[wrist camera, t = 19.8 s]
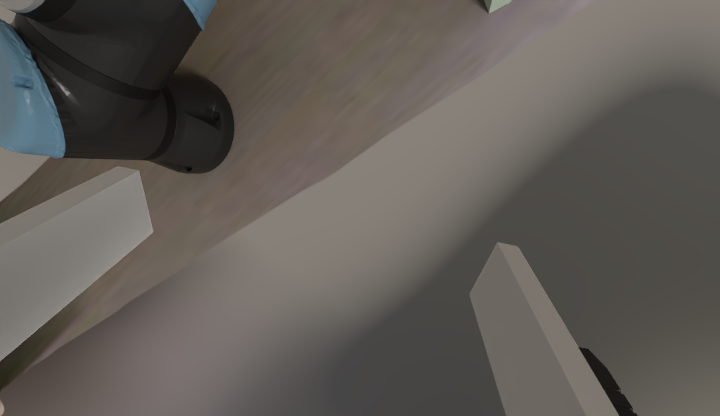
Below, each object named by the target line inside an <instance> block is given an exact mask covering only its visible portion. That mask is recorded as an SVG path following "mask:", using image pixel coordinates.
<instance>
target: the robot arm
mask: <svg viewBox="0 0 720 416" xmlns="http://www.w3.org/2000/svg"><path fill="white" fill-rule="evenodd" d="M216 1H217V0H0V5H1V6H3V7H5V8H6V9H8V10H11V11H13V12H15V13H16V16H15V18H14V20H13V22H12V23H11V24H8V23H6V22H5V21H3V20H1V19H0V146H1V147H3V148H5V149H8V150H10V151H13V152H17V153H23V154H33V155H34V154H35V155H45V156H51V157H53V158H88V159H121V160H147V161H151V162H153V163H156V164H159V165H161V166H164V167H166V168H169V169H172V170H174V171H177V172H181V173H193V174H199V173H206V172H209V171H211V170H213V169H214V168H216V167H217V166H218V165H219V164H220V163H221V162H222V161H223V160H224V159H225V157H226V156H227V154H228V152H229V150H230V147H231V144H232V141H233V135H234V119H233V114H232V110H231V107H230V104H229V102H228V100H227V98H226V97H225V95H224V94H223V92H222V91H221V90H220V89H219V88H218V87H217V86H216V85H214V84H213V83H211V82H210V81H208V80H205V79H202V78H200V77H197V76H194V75H190V74H173V73H174V71H175V70H176V68H177V67H178V65H179V64H180V62H181V60H182V59H183V57H184V56H185V54H186V53H187V51H188V50H189V48H190V46H191V45H192V43H193V42H194V40H195V39H196V37H197V36H198V34H199V32H200V31H203V30H204V29H205V22H206V21H207V19H208V17H209V15H210V14H211V12H212V10H213V8H214V7H215V5H216ZM152 233H153V229H152V224H151V220H150V216H149V212H148V207H147V203H146V199H145V194H144V190H143V186H142V182H141V177H140V173H139V170H134V169H129V168H124V167H119V166H117V167H115V168H113V169H111V170H109V171H107V172H105V173H103V174H101V175H99V176H97V177H95V178H93V179H91V180H88V181H86V182H84V183H82V184H80V185H78V186H76V187H74V188H72V189H70V190H68V191H66V192H64V193H62V194H60V195H58V196H56V197H54V198H52V199H50V200H48V201H46V202H44V203H41V204H39V205H37V206H35V207H33V208H31V209H29V210H27V211H25V212H23V213H21V214H19V215H17V216H15V217H13V218H11V219H9V220H7V221H5V222H3V223H1V224H0V361H1V360H2V359H3V358H4V357H6V356H7V355H8V354H9V353H10V352H12V351H13V350H14V349H15V348H16V347H17V346H19V345H20V344H21V343H22V342H23V341H25V340H26V339H27V338H28V337H29V336H31V335H32V334H33V333H34V332H35V331H37V330H38V329H39V328H40V327H41V326H42V325H44V324H45V323H46V322H47V321H48V320H50V319H51V318H52V317H53V316H54V315H56V314H57V313H58V312H59V311H60V310H61V309H63V308H64V307H65V306H66V305H67V304H69V303H70V302H71V301H72V300H73V299H75V298H76V297H77V296H78V295H79V294H80V293H82V292H83V291H84V290H85V289H86V288H88V287H89V286H90V285H91V284H92V283H94V282H95V281H96V280H97V279H98V278H99V277H101V276H102V275H103V274H104V273H105V272H107V271H108V270H109V269H110V268H111V267H113V266H114V265H115V264H116V263H117V262H118V261H120V260H121V259H122V258H123V257H124V256H126V255H127V254H128V253H129V252H130V251H132V250H133V249H134V248H135V247H136V246H137V245H139V244H140V243H141V242H142V241H143V240H145V239H146V238H147V237H148V236H149V235H151V234H152ZM470 298H471V301H472V305H473V308H474V311H475V314H476V318H477V321H478V324H479V328H480V331H481V334H482V337H483V341H484V344H485V347H486V351H487V354H488V357H489V361H490V364H491V367H492V370H493V373H494V377H495V380H496V384H497V387H498V390H499V394H500V397H501V400H502V403H503V406H504V410H505V413H506V416H637V414H636V413H633V410H632V409H633V408H632V406H631V405H630V403H629V402H628V400H627V399H626V397H625V396H624V394H621V389H620V388H619V386H618V385H617V383H616V382H615V380H614V379H613V377H612V375H611V374H610V372H609V371H608V369H607V368H606V367H605V366H604V365H603V364H602V363H601V362H600V361H599V360H598V359H597V358H596V357H595V356H594V355H593V353H592V352H591V351H589V349H585V348H581V347H578V346H577V345H576V343H575V341H574V340H573V338H572V336H571V334H570V333H569V331H568V329H567V328H566V326H565V324H564V323H563V321H562V319H561V318H560V316H559V314H558V313H557V311H556V309H555V308H554V306H553V304H552V303H551V301H550V299H549V298H548V296H547V294H546V293H545V291H544V289H543V288H542V286H541V284H540V283H539V281H538V279H537V278H536V276H535V274H534V273H533V271H532V269H531V268H530V266H529V265H528V263H527V261H526V259H525V258H524V256H523V255H522V253H521V251H520V250H519V248H518V246H513V245H508V244H503V243H497V244H496V246H495V248H494V250H493V251H492V253H491V255H490V257H489V259H488V261H487V263H486V264H485V266H484V268H483V270H482V272H481V274H480V276H479V277H478V279H477V281H476V283H475V285H474V287H473V289H472V290H471V293H470Z"/></svg>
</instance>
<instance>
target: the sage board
mask: <svg viewBox="0 0 720 416" xmlns="http://www.w3.org/2000/svg"><path fill="white" fill-rule="evenodd" d="M510 2H511V0H484V3H485V5H486V8H487V10H488V13H491V12H493V11H495V10H496V9H498V8H500V7H502V6H504V5H506V4H508V3H510Z"/></svg>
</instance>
